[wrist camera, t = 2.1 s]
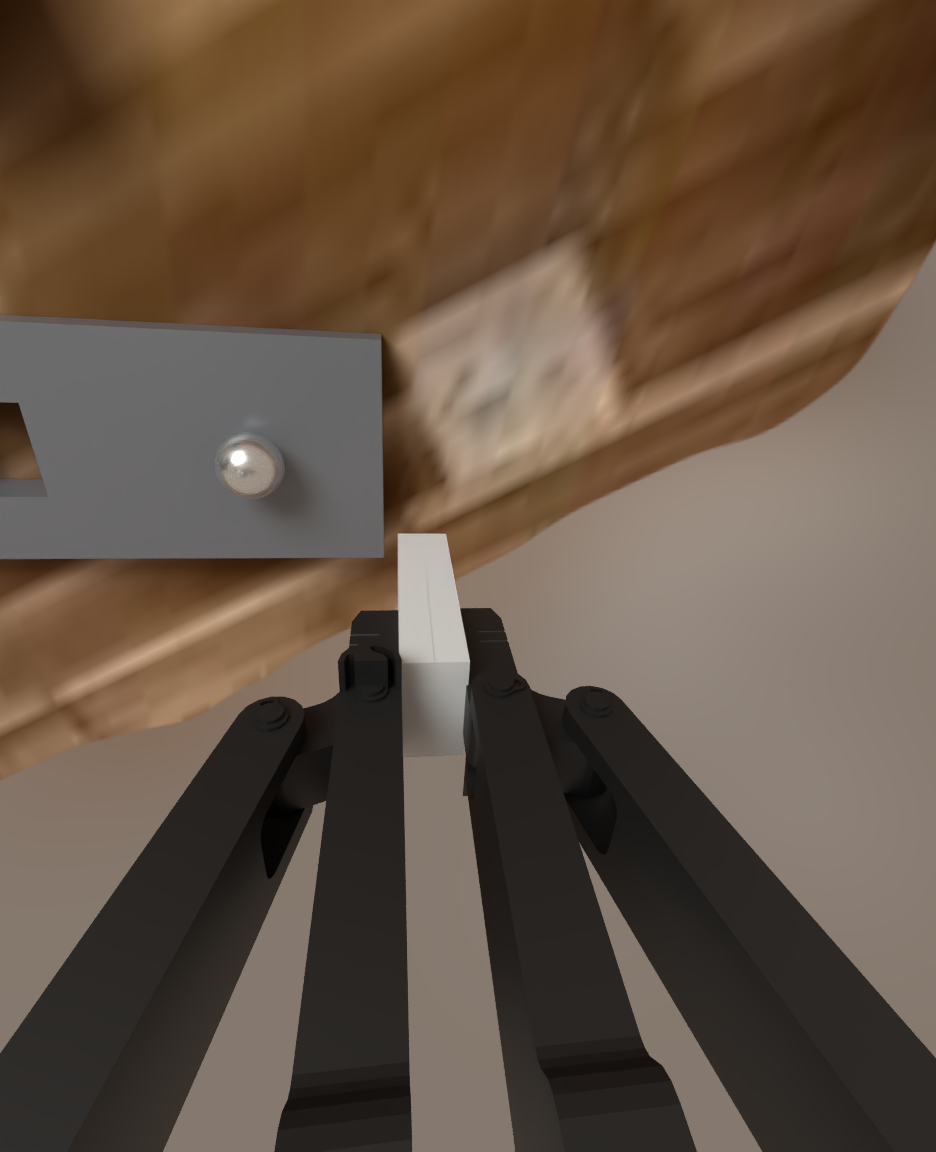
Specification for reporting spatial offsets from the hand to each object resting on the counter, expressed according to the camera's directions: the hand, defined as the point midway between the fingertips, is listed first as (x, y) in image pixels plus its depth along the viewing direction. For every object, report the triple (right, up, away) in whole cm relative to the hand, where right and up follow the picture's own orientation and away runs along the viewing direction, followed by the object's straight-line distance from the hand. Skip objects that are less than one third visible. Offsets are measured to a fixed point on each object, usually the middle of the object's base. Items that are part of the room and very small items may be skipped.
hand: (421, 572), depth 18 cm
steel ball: (-8, +5, +8) cm, 13 cm away
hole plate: (-15, +7, +10) cm, 19 cm away
